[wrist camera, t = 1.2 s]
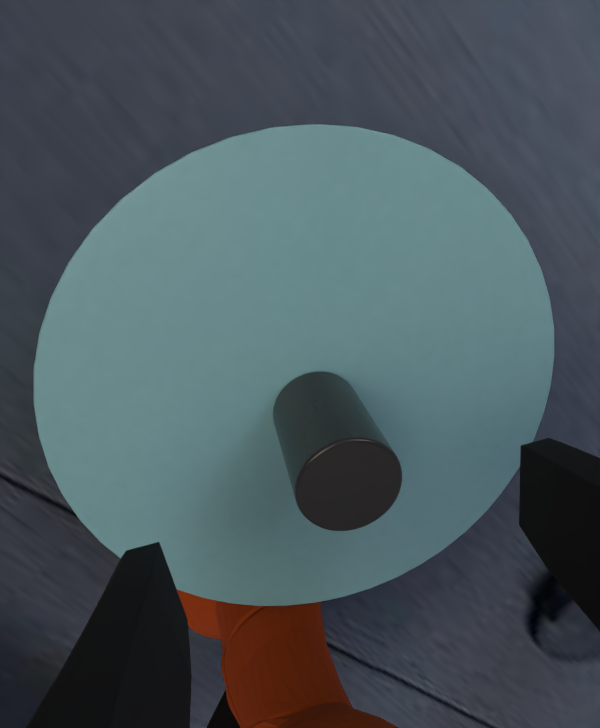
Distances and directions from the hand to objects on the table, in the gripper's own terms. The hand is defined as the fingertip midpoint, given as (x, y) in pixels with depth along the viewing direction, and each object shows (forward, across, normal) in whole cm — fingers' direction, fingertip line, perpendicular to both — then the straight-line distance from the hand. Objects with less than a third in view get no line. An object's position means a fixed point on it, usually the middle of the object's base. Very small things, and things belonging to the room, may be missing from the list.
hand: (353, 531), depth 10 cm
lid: (+5, 0, 0) cm, 5 cm away
